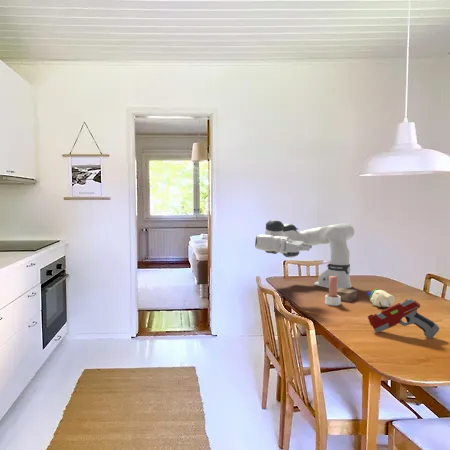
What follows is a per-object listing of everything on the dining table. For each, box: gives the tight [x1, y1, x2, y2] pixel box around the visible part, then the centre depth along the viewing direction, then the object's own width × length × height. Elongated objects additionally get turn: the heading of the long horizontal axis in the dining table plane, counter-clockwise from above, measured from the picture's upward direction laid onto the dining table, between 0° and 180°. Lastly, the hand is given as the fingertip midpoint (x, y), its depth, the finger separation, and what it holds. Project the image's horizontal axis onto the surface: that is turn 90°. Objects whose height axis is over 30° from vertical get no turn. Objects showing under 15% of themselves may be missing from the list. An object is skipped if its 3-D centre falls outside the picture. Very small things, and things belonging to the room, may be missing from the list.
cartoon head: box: [366, 288, 396, 308], centre depth 211 cm, size 9×10×20 cm
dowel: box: [328, 276, 337, 297], centre depth 213 cm, size 4×4×14 cm
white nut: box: [324, 293, 342, 307], centre depth 214 cm, size 7×7×5 cm
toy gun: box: [367, 298, 440, 340], centre depth 167 cm, size 4×22×18 cm
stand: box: [337, 288, 358, 303], centre depth 224 cm, size 10×10×5 cm
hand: (310, 247), depth 217 cm, fingers open, 8 cm apart
